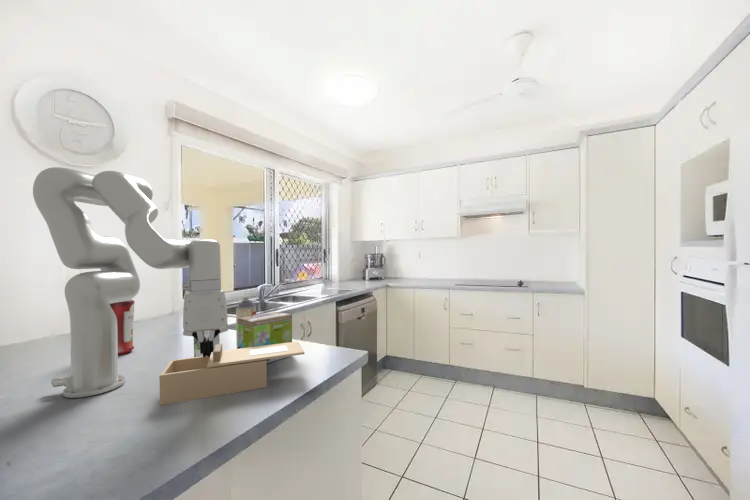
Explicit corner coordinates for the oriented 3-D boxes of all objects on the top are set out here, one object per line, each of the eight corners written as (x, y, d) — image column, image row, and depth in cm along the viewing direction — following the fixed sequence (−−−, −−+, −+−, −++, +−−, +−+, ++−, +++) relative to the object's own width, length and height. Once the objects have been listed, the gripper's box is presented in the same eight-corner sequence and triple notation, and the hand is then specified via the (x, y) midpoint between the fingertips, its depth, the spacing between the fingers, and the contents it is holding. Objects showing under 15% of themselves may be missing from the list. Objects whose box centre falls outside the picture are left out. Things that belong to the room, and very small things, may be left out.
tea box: (254, 369, 98) (253, 321, 98) (236, 362, 104) (236, 317, 104) (293, 355, 110) (292, 313, 110) (275, 351, 116) (275, 310, 116)
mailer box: (159, 405, 75) (159, 375, 75) (171, 386, 86) (170, 360, 86) (266, 387, 84) (266, 360, 84) (264, 371, 95) (264, 348, 95)
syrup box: (220, 360, 106) (220, 317, 107) (210, 366, 100) (209, 321, 101) (204, 360, 107) (204, 317, 107) (193, 366, 101) (192, 321, 101)
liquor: (115, 351, 120) (114, 277, 121) (138, 348, 123) (137, 276, 123) (105, 356, 113) (105, 278, 114) (130, 354, 116) (129, 278, 116)
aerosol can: (255, 353, 113) (254, 297, 113) (234, 355, 111) (233, 298, 112) (258, 348, 120) (257, 295, 120) (238, 349, 118) (237, 296, 118)
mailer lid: (206, 367, 78) (206, 355, 78) (211, 354, 90) (211, 343, 90) (304, 354, 87) (304, 342, 88) (298, 343, 99) (297, 333, 99)
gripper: (169, 289, 78) (170, 364, 77) (235, 285, 83) (237, 355, 83) (175, 287, 85) (177, 355, 84) (236, 283, 90) (238, 348, 90)
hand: (207, 355), depth 84 cm, fingers closed
